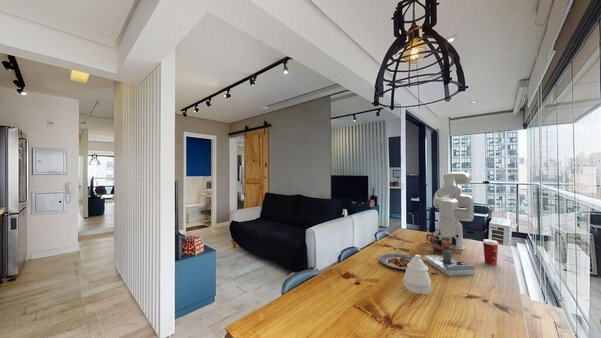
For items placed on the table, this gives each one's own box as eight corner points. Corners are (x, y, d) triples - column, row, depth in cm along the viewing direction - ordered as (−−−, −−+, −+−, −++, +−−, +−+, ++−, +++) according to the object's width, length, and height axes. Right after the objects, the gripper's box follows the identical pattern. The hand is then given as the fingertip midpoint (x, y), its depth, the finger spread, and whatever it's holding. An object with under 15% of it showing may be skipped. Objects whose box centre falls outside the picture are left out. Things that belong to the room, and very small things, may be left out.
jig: (423, 259, 158) (423, 252, 158) (445, 258, 159) (445, 251, 159) (448, 276, 134) (448, 266, 134) (474, 274, 135) (474, 265, 135)
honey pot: (435, 295, 113) (434, 259, 113) (407, 293, 116) (406, 258, 116) (426, 283, 126) (425, 250, 126) (401, 281, 129) (401, 249, 129)
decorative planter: (421, 249, 179) (421, 231, 179) (430, 246, 185) (429, 229, 185) (448, 257, 162) (448, 237, 162) (457, 254, 168) (457, 235, 168)
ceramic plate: (412, 256, 164) (412, 252, 164) (429, 273, 138) (429, 268, 138) (375, 256, 167) (375, 252, 167) (385, 271, 141) (385, 267, 141)
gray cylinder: (441, 265, 148) (441, 250, 148) (447, 265, 149) (447, 249, 149) (446, 268, 144) (446, 252, 144) (452, 268, 144) (452, 252, 144)
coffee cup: (499, 267, 145) (499, 243, 145) (482, 264, 150) (482, 241, 150) (498, 262, 152) (498, 240, 152) (482, 259, 157) (482, 238, 157)
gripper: (454, 217, 151) (455, 242, 151) (429, 218, 150) (430, 244, 150) (463, 219, 143) (464, 246, 144) (437, 220, 142) (437, 248, 142)
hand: (446, 245), depth 147 cm, fingers open, 9 cm apart
